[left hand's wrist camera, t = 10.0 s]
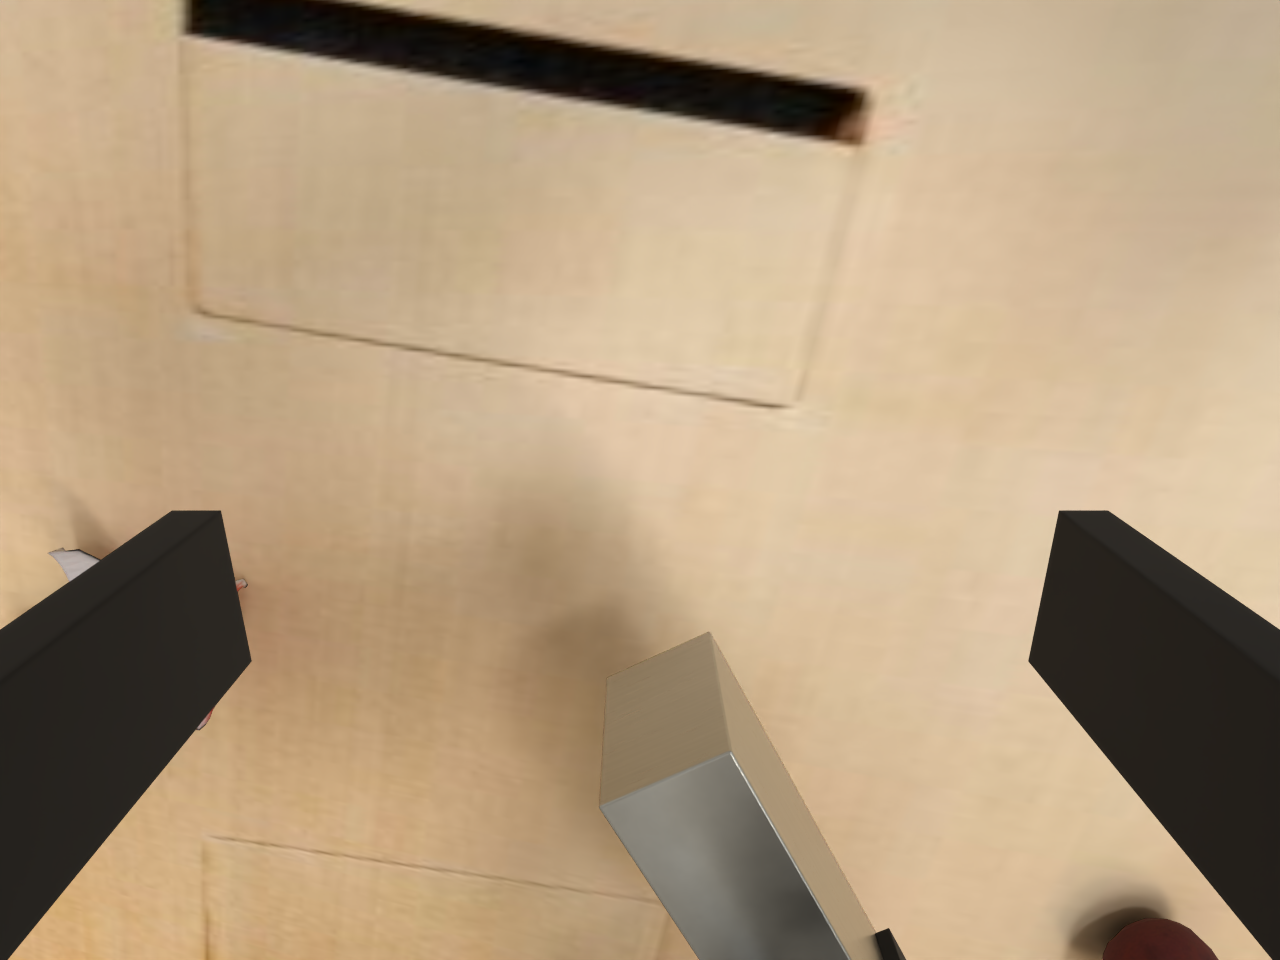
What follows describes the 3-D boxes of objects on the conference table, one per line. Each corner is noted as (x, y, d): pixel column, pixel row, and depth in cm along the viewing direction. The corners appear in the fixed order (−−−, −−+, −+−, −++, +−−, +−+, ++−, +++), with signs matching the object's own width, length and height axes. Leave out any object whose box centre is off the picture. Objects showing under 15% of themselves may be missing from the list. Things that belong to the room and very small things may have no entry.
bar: (605, 677, 34) (597, 807, 27) (709, 630, 34) (731, 750, 26) (821, 1028, 42) (863, 1209, 34) (911, 995, 41) (974, 1173, 33)
